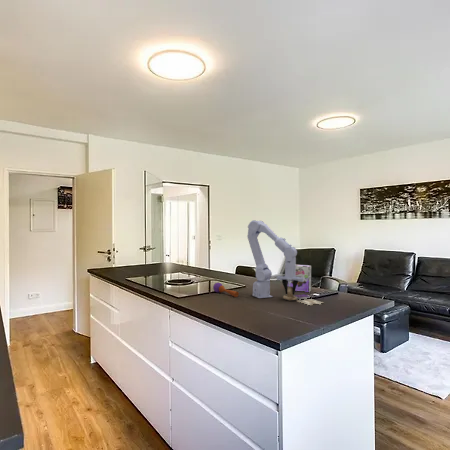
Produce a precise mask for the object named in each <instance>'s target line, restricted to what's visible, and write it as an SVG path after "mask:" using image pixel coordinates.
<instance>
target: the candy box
mask: <svg viewBox="0 0 450 450" xmlns="http://www.w3.org/2000/svg"><path fill="white" fill-rule="evenodd" d="M296 277H300V278H304V282H301V281H298V284H297V286H296V289H295V292H297V291H305V292H304V293H306V292H309V293H311V292H310V291H312V290H311V289H312V265H308V264H296ZM288 280H292V279H288ZM287 287H293V281H288V284H287Z"/></svg>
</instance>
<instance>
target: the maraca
mask: <svg viewBox="0 0 450 450" xmlns="http://www.w3.org/2000/svg"><path fill="white" fill-rule="evenodd" d="M212 289H213V292H215V293H223V292H226V293H228V294H229V295H230V296H232V297H234V298H238V297H239V294H240V293H239V292H238V291H236V290H231V289H227V288H225V286H224V285H223V283H221V282H215V283H214V285H213V288H212Z"/></svg>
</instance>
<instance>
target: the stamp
mask: <svg viewBox="0 0 450 450" xmlns="http://www.w3.org/2000/svg"><path fill="white" fill-rule="evenodd" d="M283 299H284V300H286V301H288V302H291V301H292V302H293V301H297V299H296V296H294V295H293V287H288V286H287V294H285V295H283Z"/></svg>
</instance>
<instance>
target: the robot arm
mask: <svg viewBox="0 0 450 450" xmlns="http://www.w3.org/2000/svg"><path fill="white" fill-rule="evenodd" d="M247 228H248V229H247V236H246V237H247V240H248V243H249V247H250V250H251V253H252V256H253V260H254V264H255V265H256V266H255V269H254V270H255V279H256V280H255V281H254V282H253V283H252V295H251V296H252V297H255V298H258V299H264V298H265V299H266V298H273V297H274V296H273V295H270V294H271V280H270V279H271V278H272V275H273V274H272V273H273V272H272V271H271V269H270V268H269V266H268V265H267V264H266V261H265V258H264V255H263V252H262V250H261V249H262V248H261V245H260V242H259V239H258V237H259V235H260V234H261V233H265V235H266V236H268V237H269V238H270V239H271V240H272V241H273V242H274V245H275V247H277V248H278V249H279V251H281V252H282V253H283V256H284V260H285V261H284V262H285V263H284V275H278V276H276V280H277V281H281V283H282V285H283V288H284V291H285V295H287V287H288V281H293V296H294V295H295V292H296V291H295V289H296V286H297V284H298V281H301V282H304V278H300V277H296V265H297V258H296V257H297V255H298V250H297V249H296V247H294V246H292V244H289V243H288V242H287V241H286V238H283V237H279V236H278V234H276V233H275V232H274V230H272V229H271V228H270V226H269V225H268V224H267V223H265V222H264V221H262V220H251V221H250V222H249V223H248V225H247ZM288 279H292V280H288Z"/></svg>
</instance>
